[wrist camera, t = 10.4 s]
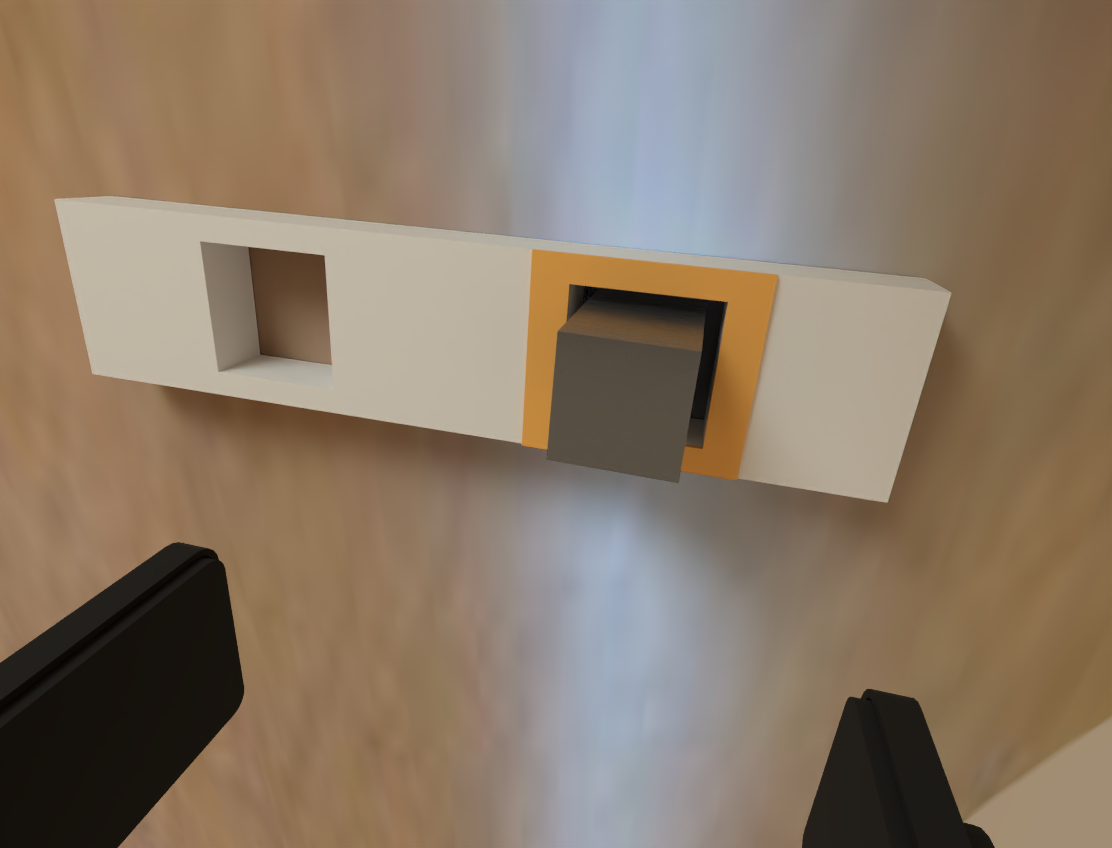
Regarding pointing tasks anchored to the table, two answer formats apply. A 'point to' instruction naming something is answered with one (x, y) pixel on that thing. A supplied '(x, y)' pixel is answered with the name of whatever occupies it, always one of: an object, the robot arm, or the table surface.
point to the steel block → (626, 383)
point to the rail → (507, 332)
